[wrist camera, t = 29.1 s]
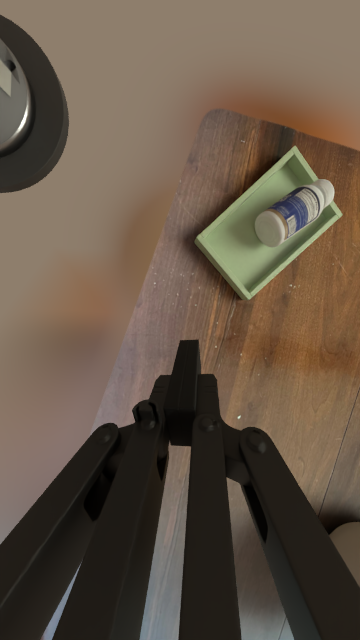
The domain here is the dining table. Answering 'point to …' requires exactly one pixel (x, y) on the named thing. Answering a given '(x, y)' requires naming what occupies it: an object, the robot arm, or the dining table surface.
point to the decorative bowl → (349, 546)
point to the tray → (240, 236)
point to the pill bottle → (293, 212)
